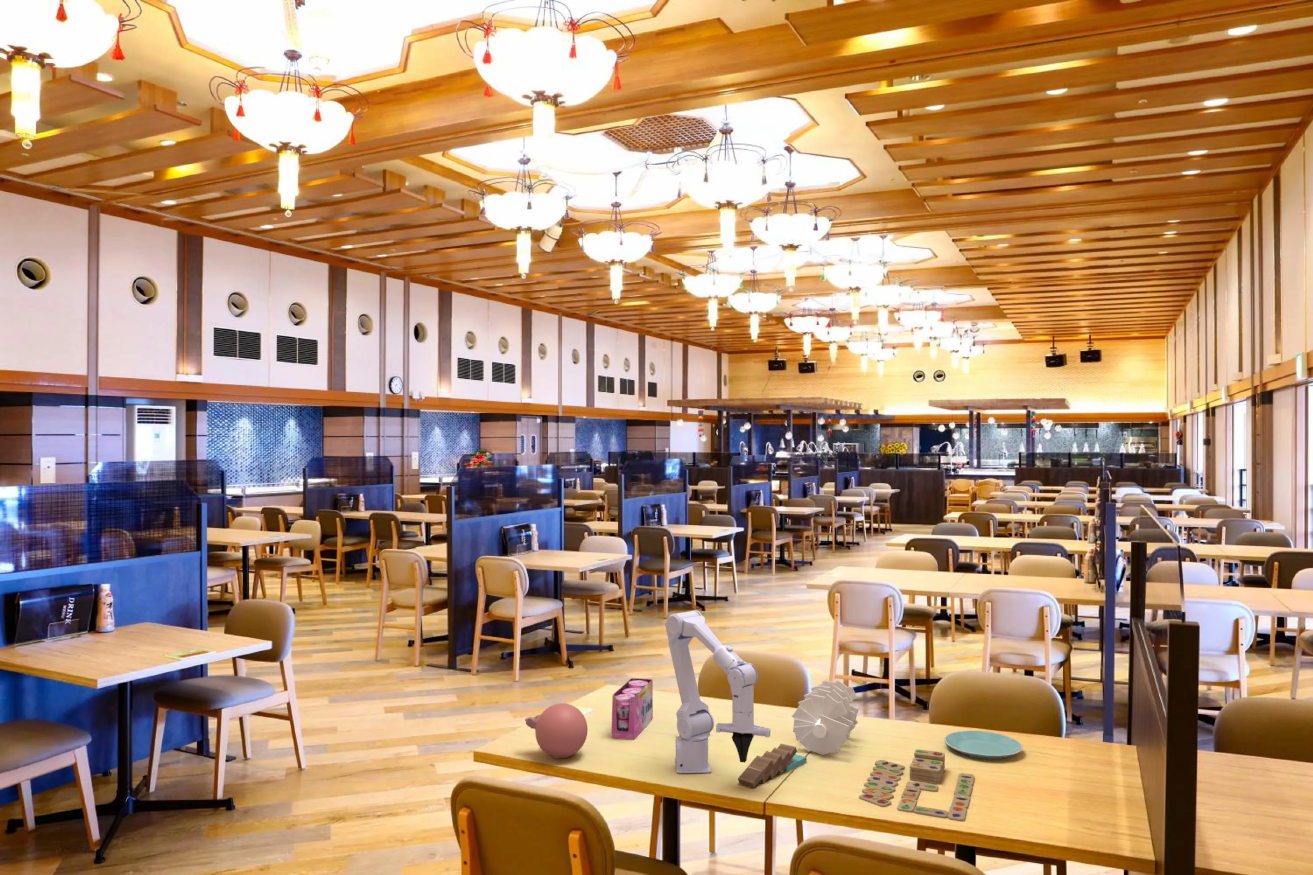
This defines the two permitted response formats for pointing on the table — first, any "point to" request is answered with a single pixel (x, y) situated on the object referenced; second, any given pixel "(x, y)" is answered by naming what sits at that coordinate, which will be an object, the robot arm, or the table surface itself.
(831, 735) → the spiral staircase
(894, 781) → the pile of dominoes
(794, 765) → the teal domino
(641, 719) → the gum box
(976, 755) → the plate
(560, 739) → the pink water balloon
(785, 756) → the walnut domino
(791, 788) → the table surface
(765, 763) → the walnut domino
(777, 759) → the walnut domino
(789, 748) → the walnut domino
